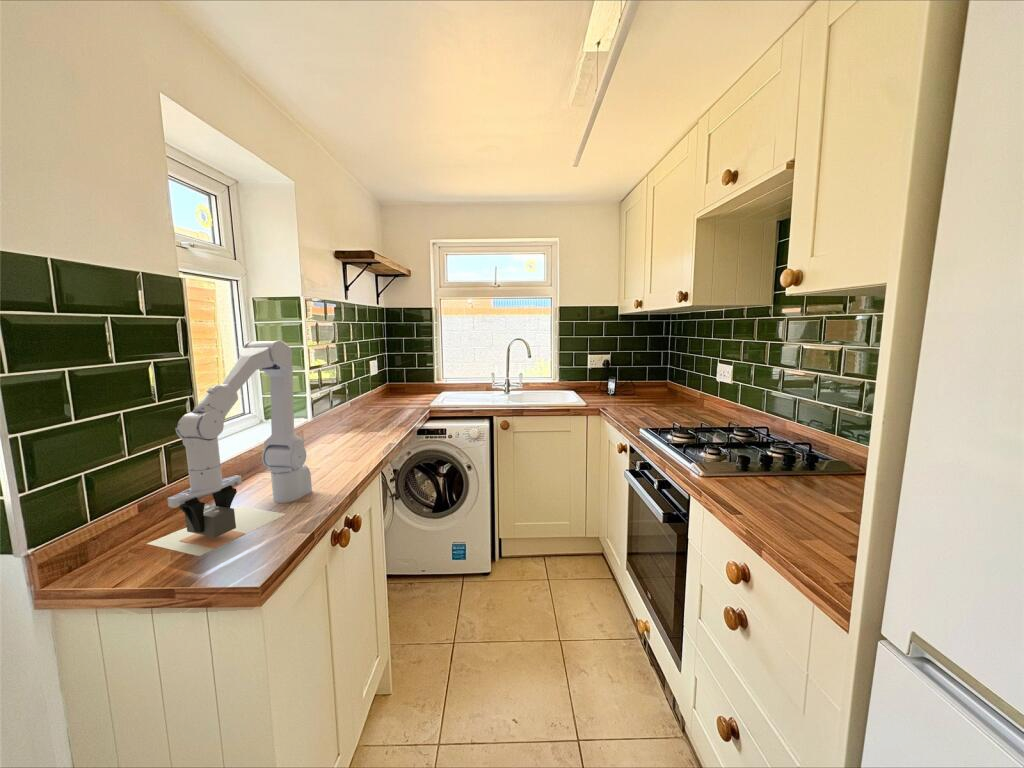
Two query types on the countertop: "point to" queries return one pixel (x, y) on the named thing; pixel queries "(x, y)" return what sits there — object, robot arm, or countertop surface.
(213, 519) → the domino block
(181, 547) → the cream mat
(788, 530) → the countertop surface
